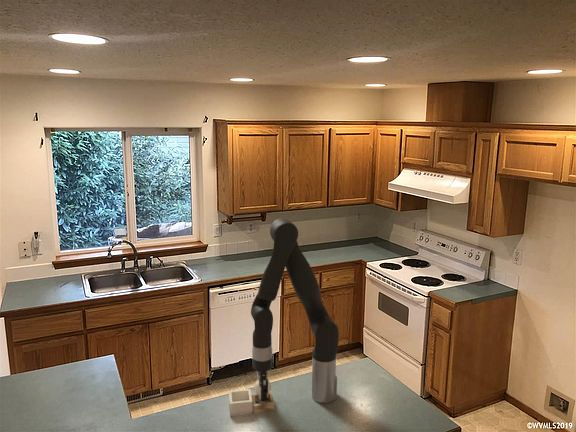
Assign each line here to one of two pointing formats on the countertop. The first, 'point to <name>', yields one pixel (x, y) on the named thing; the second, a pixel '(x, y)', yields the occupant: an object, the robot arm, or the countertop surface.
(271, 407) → the wooden frame
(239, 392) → the cream open cubby box
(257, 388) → the lightbulb
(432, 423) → the countertop surface
